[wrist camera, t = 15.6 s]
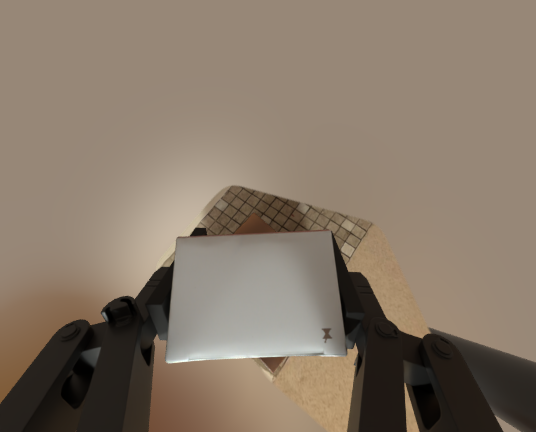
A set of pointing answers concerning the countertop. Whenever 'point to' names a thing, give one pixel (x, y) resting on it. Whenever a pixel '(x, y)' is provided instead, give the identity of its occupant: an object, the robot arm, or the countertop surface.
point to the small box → (255, 297)
